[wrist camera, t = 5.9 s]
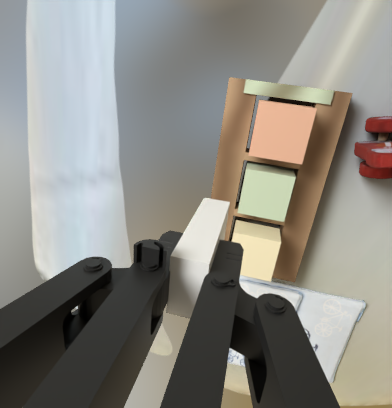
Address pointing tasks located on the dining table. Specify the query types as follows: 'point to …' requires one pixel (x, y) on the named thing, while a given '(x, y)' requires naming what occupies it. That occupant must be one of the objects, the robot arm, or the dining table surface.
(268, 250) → the cream yellow square block
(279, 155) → the salmon orange square block
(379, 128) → the toy fire truck
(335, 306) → the printed paper napkins
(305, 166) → the board
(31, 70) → the dining table surface
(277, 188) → the pale green square block
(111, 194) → the dining table surface
